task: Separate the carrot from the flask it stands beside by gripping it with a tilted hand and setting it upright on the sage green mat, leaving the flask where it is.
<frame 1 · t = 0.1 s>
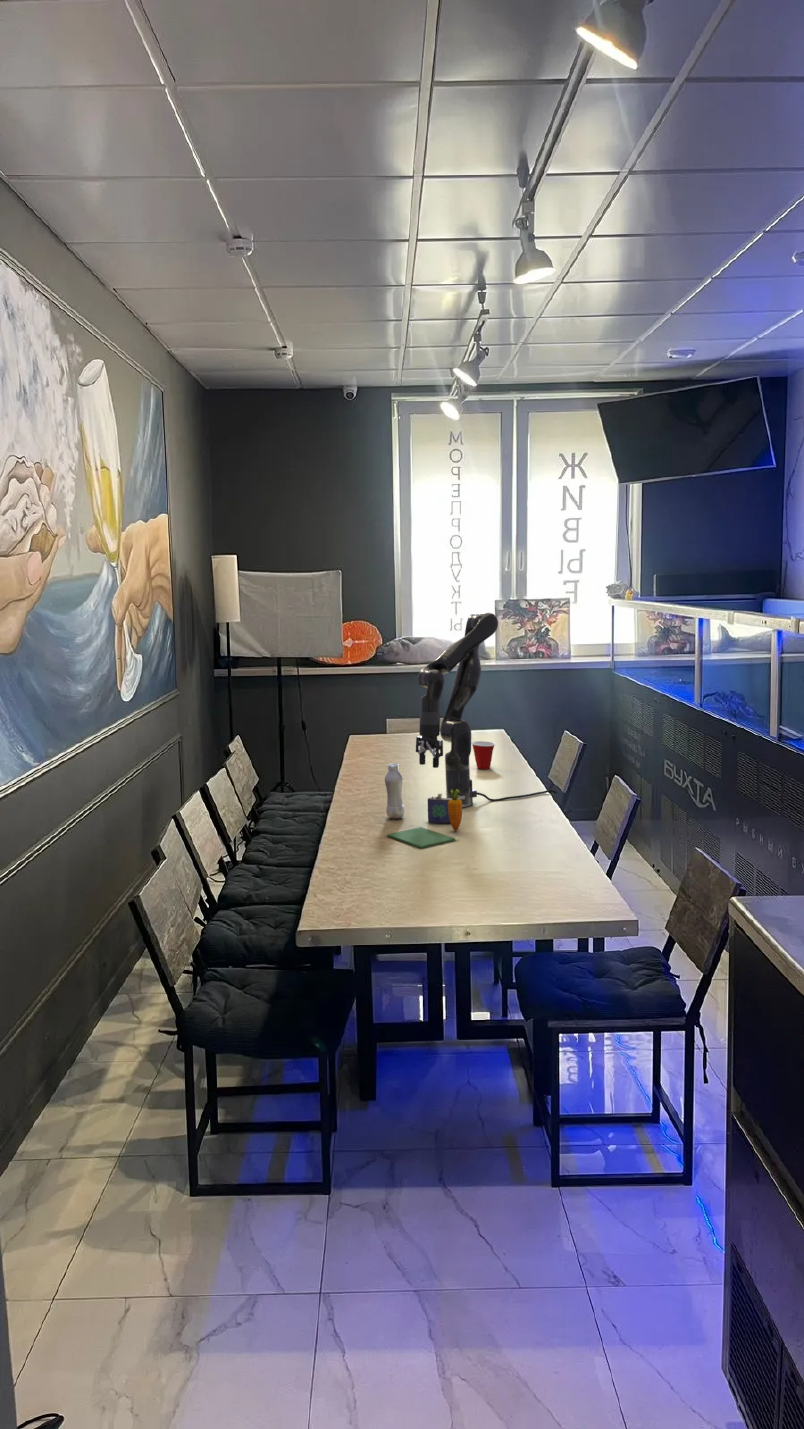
hand: (428, 766, 358), 17 cm above the table, tool pointing down, fingers open, 8 cm apart
flask: (440, 823, 342), on the table
green mat: (420, 838, 323), on the table
carrot: (455, 832, 330), on the table
plastic cup: (484, 768, 435), on the table
plastic bottle: (395, 818, 352), on the table
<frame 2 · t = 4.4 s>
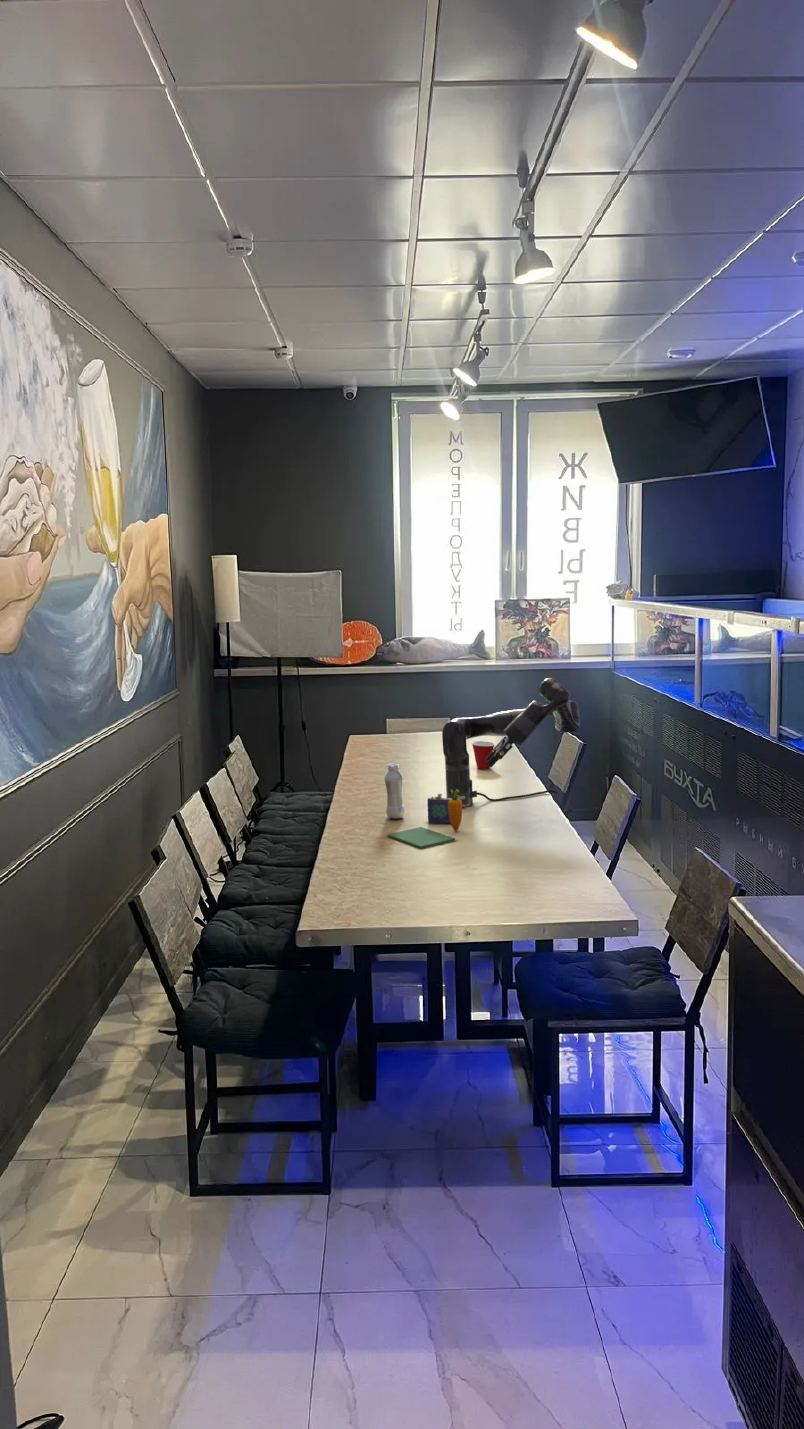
hand: (488, 763, 326), 24 cm above the table, tool tilted 45°, fingers open, 8 cm apart
nothing on the table moved.
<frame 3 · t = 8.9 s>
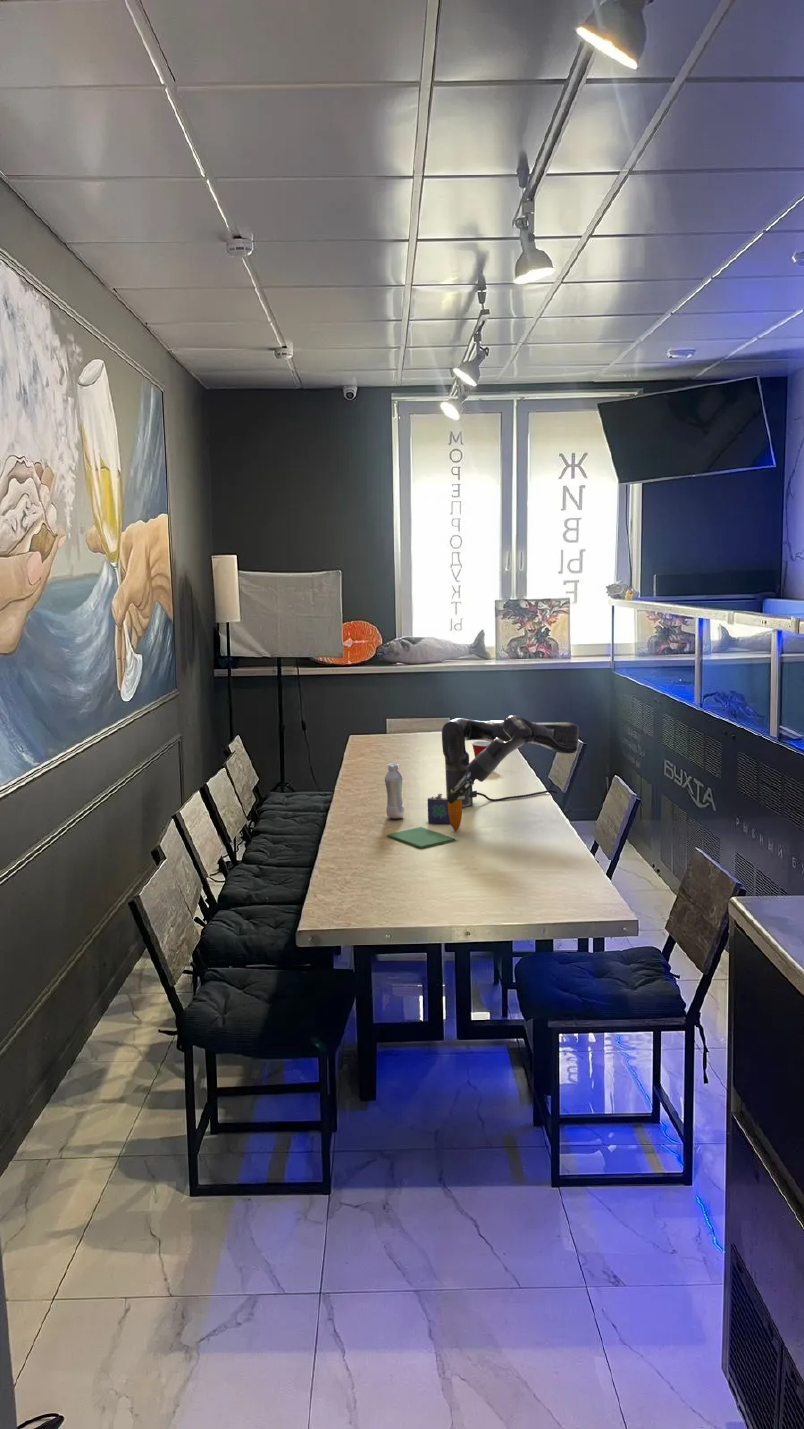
hand: (449, 800, 328), 11 cm above the table, tool tilted 45°, fingers closed on carrot, 4 cm apart
carrot: (455, 832, 330), on the table, touching gripper
everything else where it was.
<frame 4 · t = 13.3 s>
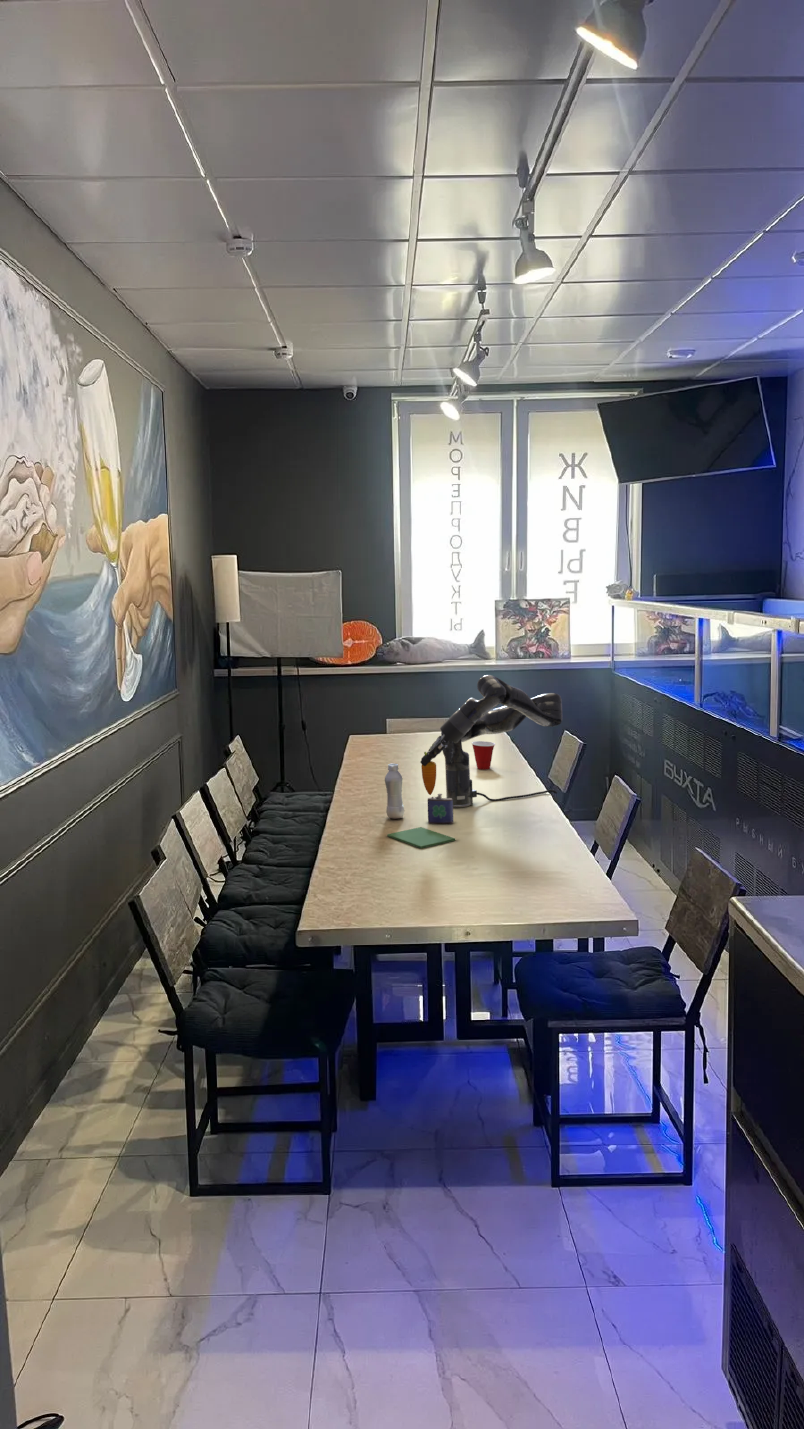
hand: (422, 762, 320), 26 cm above the table, tool tilted 45°, fingers closed on carrot, 4 cm apart
carrot: (430, 795, 322), point 14 cm above the table, touching gripper
everything else where it was.
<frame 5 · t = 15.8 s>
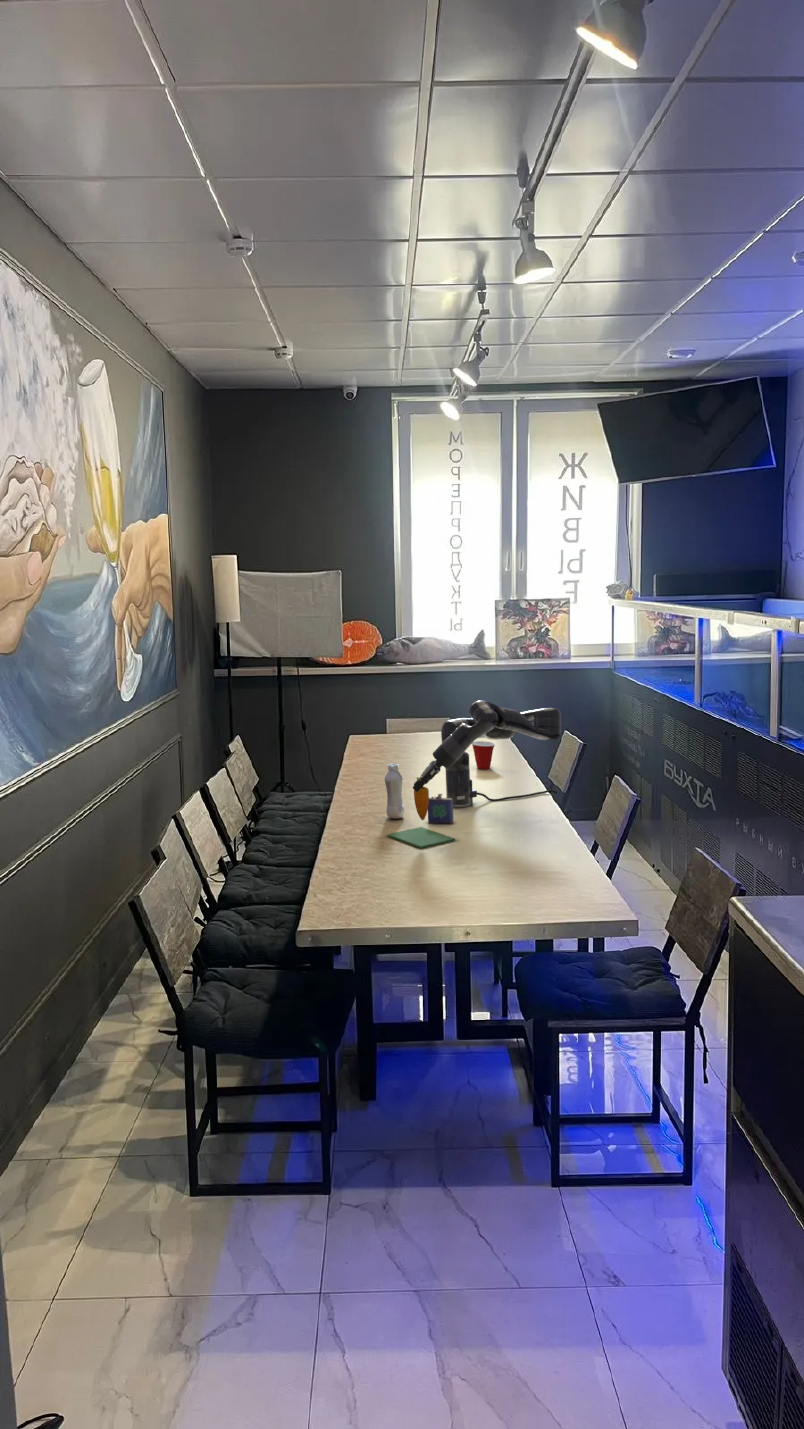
hand: (415, 788, 320), 18 cm above the table, tool tilted 45°, fingers closed on carrot, 4 cm apart
carrot: (422, 820, 321), point 6 cm above the table, touching gripper
everything else where it was.
when the fingers open (12 cm above the table, at t = 17.8 s): carrot stays where it is, resting on green mat.
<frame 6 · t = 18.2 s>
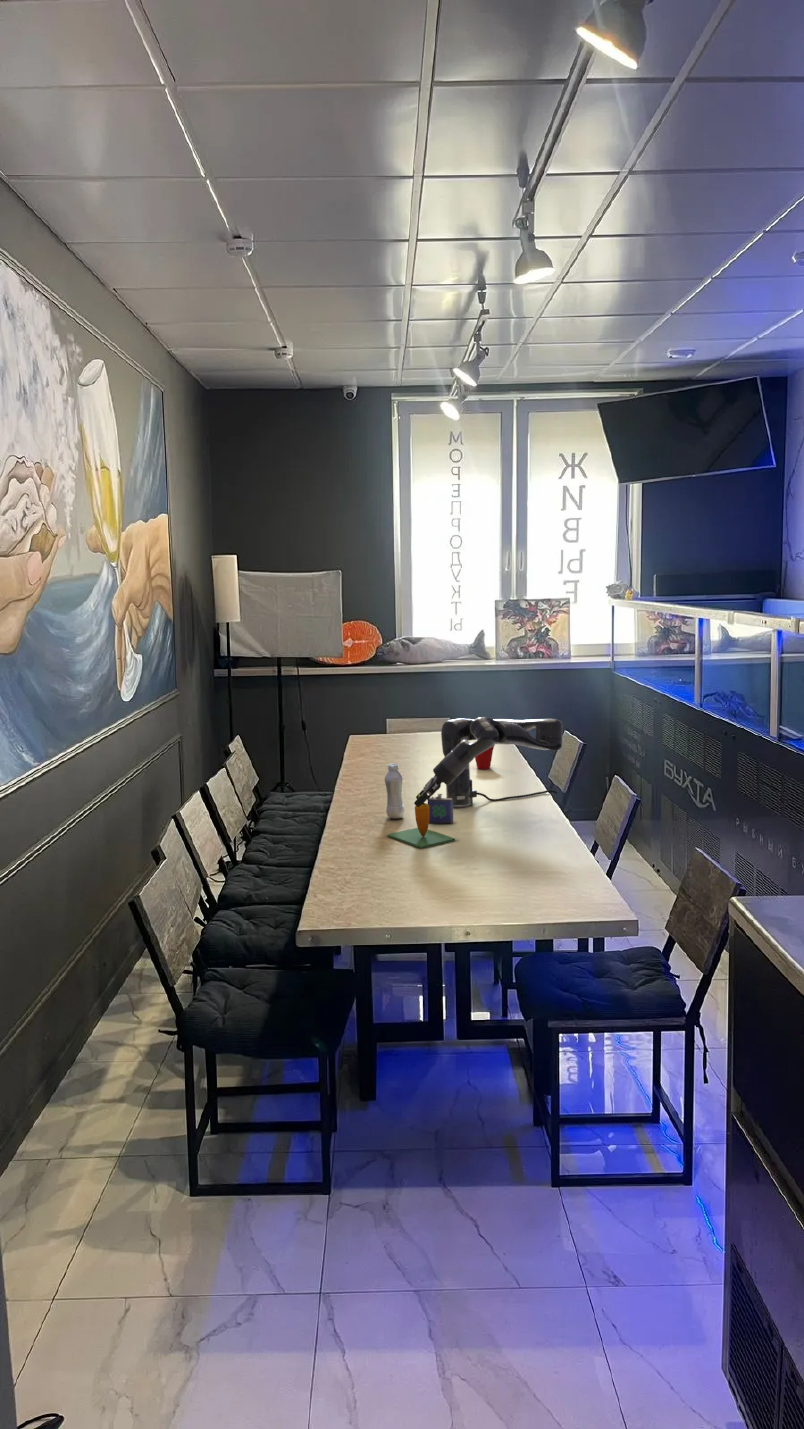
hand: (416, 802, 320), 13 cm above the table, tool tilted 45°, fingers open, 8 cm apart
carrot: (423, 837, 322), point 1 cm above the table, touching green mat
everything else where it was.
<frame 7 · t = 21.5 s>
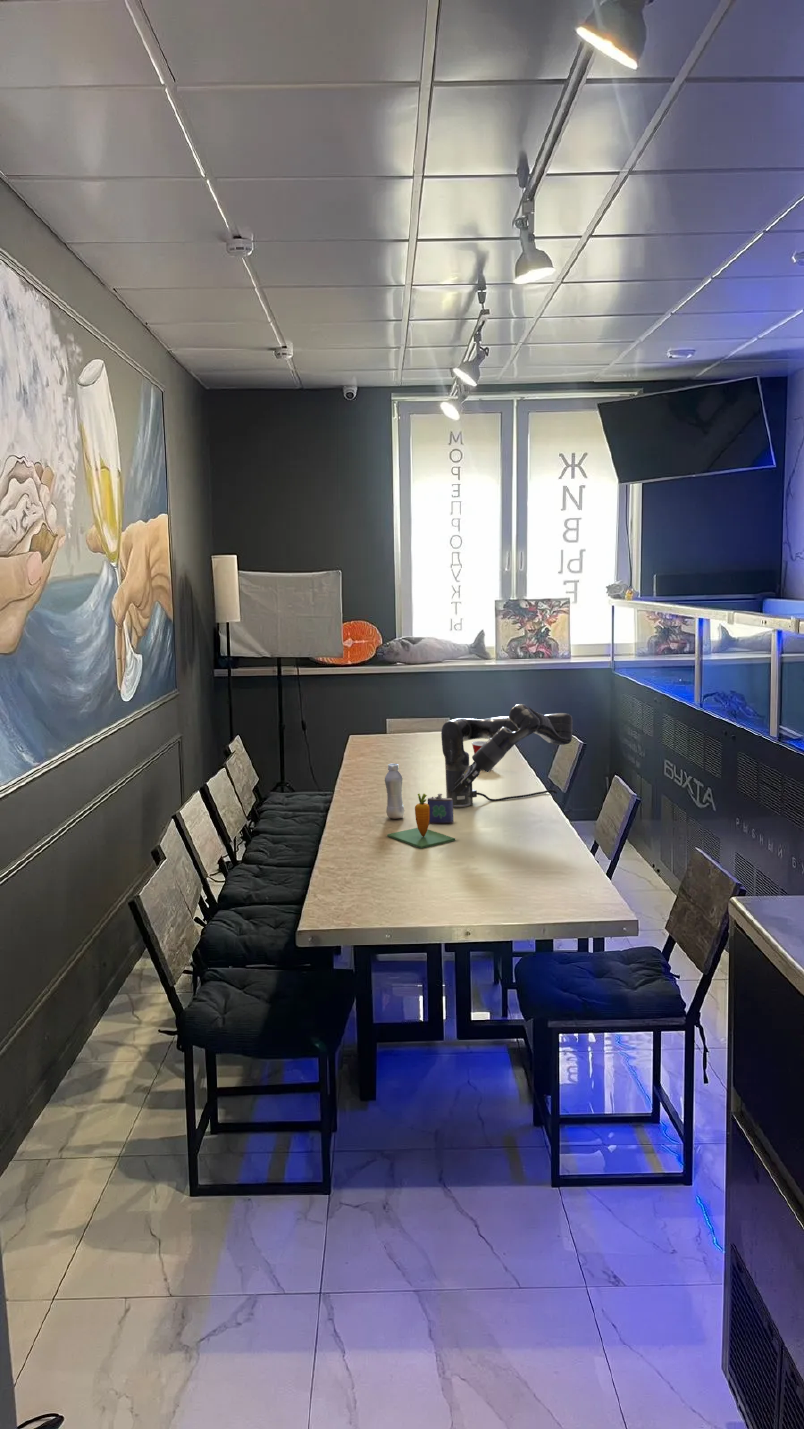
hand: (455, 789, 319), 17 cm above the table, tool tilted 45°, fingers open, 8 cm apart
nothing on the table moved.
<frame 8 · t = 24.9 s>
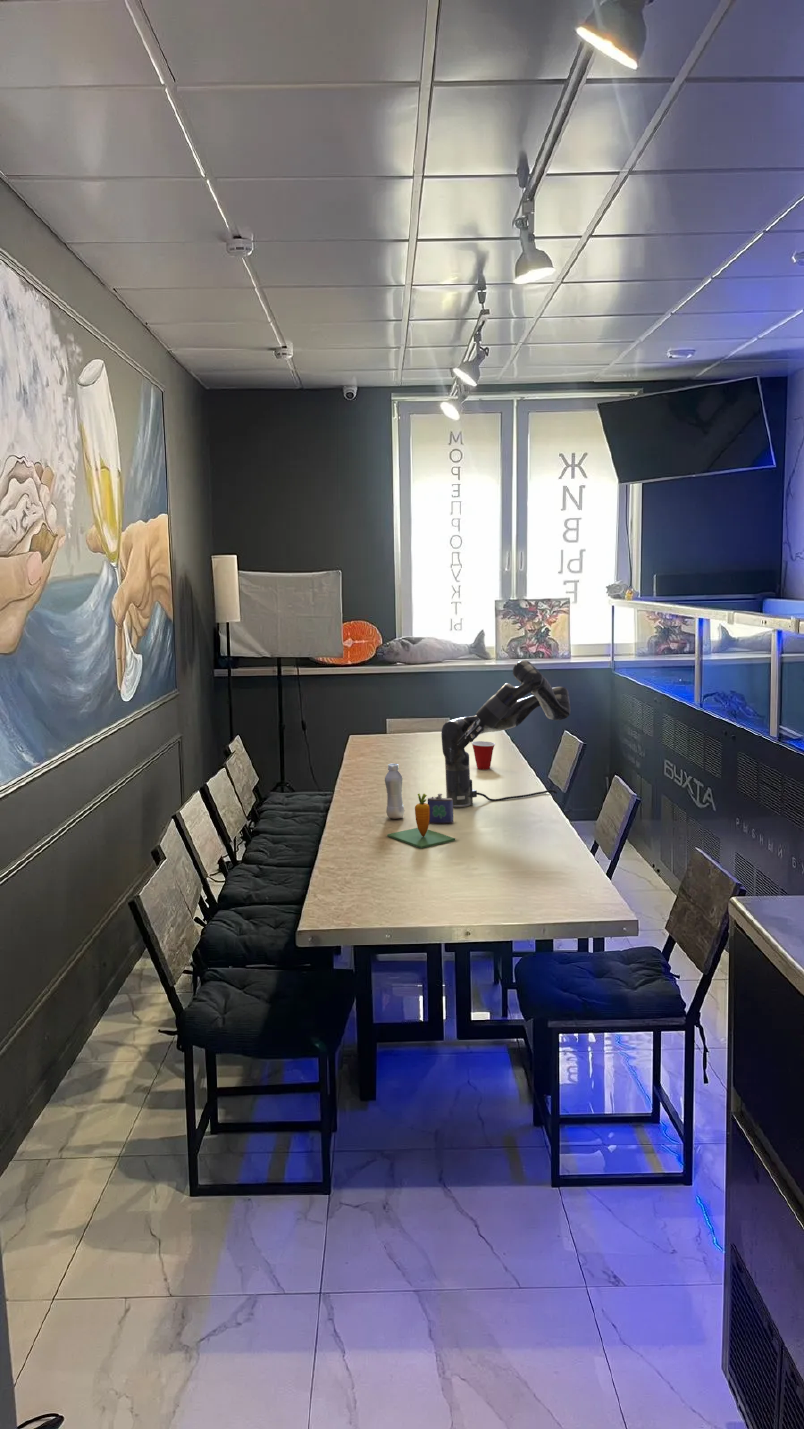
hand: (459, 746, 321), 31 cm above the table, tool tilted 45°, fingers open, 8 cm apart
nothing on the table moved.
at the end: carrot inside the target area (1.1 cm from its centre), point 0.6 cm above the table; carrot tilted 0°; flask moved 0.2 cm from its start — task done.
